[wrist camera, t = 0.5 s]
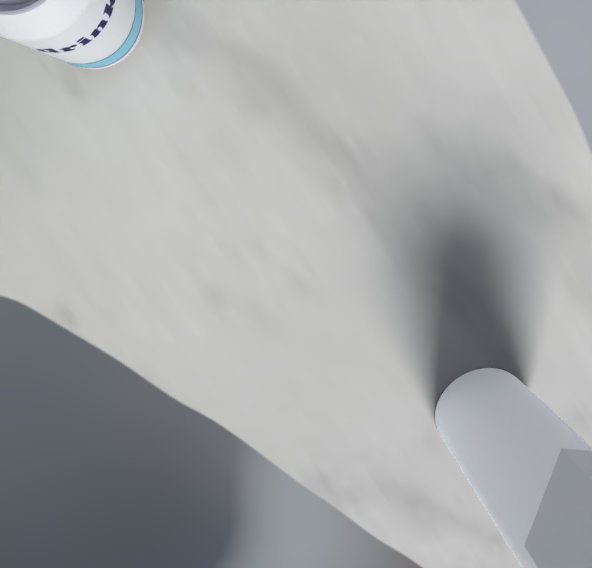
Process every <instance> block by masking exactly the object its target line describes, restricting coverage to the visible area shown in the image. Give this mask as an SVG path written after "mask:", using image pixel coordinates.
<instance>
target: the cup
mask: <svg viewBox="0 0 592 568" xmlns="http://www.w3.org/2000/svg"><path fill="white" fill-rule="evenodd" d="M435 423H436V427H437V430H438V432H439V434H440V436H441V437H442V439H443V440H444V442H445V444H446V445H447V447H448V449H449V450H450V452H451V453H452V455H453V457H454V458H455V460H456V462H457V463H458V465H459V466H460V468H461V470H462V471H463V473H464V475H465V476H466V478H467V479H468V481H469V483H470V484H471V486H472V488H473V489H474V491H475V492H476V494H477V496H478V497H479V499H480V501H481V502H482V504H483V505H484V507H485V509H486V510H487V512H488V514H489V515H490V517H491V518H492V520H493V522H494V523H495V525H496V527H497V528H498V530H499V531H500V533H501V535H502V536H503V538H504V540H505V541H506V543H507V544H508V546H509V548H510V549H511V551H512V553H513V554H514V556H515V557H516V559H517V561H518V562H519V564H520V566H521V567H522V568H538V567H537V565H536V563H535V562H534V560H533V559H532V557H531V556H530V554H529V553H528V551H527V549H526V548H525V546H524V545H525V542H526V540H527V537H528V534H529V532H530V529H531V527H532V524H533V521H534V519H535V516H536V514H537V511H538V508H539V506H540V503H541V501H542V498H543V495H544V493H545V490H546V488H547V485H548V482H549V480H550V477H551V475H552V472H553V469H554V467H555V464H556V461H557V459H558V456H559V454H560V451H561V448H565V449H575V450H585V451H592V447H591V446H590V445H589V444H588V443H587V442H586V441H585V440H584V439H583V438H582V437H581V436H579V435H578V434H577V433H576V432H575V431H574V430H573V429H572V428H571V427H570V426H569V425H568V424H566V423H565V422H564V421H563V420H562V419H561V418H560V417H559V416H558V415H557V414H556V413H555V412H553V411H552V410H551V409H550V408H549V407H548V406H547V405H546V404H545V403H544V402H543V401H542V400H540V399H539V398H538V397H537V396H536V395H535V394H534V393H533V392H532V391H531V390H530V389H529V388H527V387H526V386H525V385H524V384H523V383H522V382H521V381H520V380H519V379H518V378H516V377H515V376H514V375H512V374H511V373H509V372H507V371H504V370H501V369H496V368H482V369H476V370H473V371H470V372H467V373H465V374H463V375H461V376H460V377H458V378H457V379H455V380H454V381H453V382H452V383H451V384H450V385H449V386H448V387H447V388H446V389H445V390H444V392H443V393H442V395H441V396H440V398H439V401H438V403H437V406H436V410H435Z"/></svg>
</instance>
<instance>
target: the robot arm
mask: <svg viewBox="0 0 592 568" xmlns="http://www.w3.org/2000/svg"><path fill="white" fill-rule="evenodd" d="M524 546H525V548H526V549H527V551H528V553H529V554H530V556H531V557H532V559H533V560H534V562H535V563H536V565H537V567H538V568H592V451H585V450H575V449H565V448H561V451H560V454H559V456H558V459H557V461H556V464H555V467H554V469H553V472H552V475H551V477H550V480H549V482H548V485H547V488H546V490H545V493H544V495H543V498H542V501H541V503H540V506H539V508H538V511H537V514H536V516H535V519H534V521H533V524H532V527H531V529H530V532H529V534H528V537H527V540H526V542H525V545H524Z"/></svg>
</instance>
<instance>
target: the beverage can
mask: <svg viewBox="0 0 592 568" xmlns="http://www.w3.org/2000/svg"><path fill="white" fill-rule="evenodd" d="M144 20H145V9H144V2H143V0H0V36H1V37H3V38H6V39H9V40H11V41H14V42H16V43H19V44H21V45H24V46H26V47H29V48H31V49H34V50H36V51H39V52H41V53H44V54H46V55H49V56H51V57H54V58H56V59H59V60H62V61H64V62H67V63H69V64H72V65H74V66H77V67H81V68H85V69H103V68H108V67H111V66H114V65H116V64H118V63H119V62H121V61H123V60H124V59H125V58H126V57H128V56H129V55H130V54H131V52H132V51H133V50H134V49H135V47H136V46H137V44H138V42H139V40H140V37H141V35H142V31H143V27H144Z"/></svg>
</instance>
